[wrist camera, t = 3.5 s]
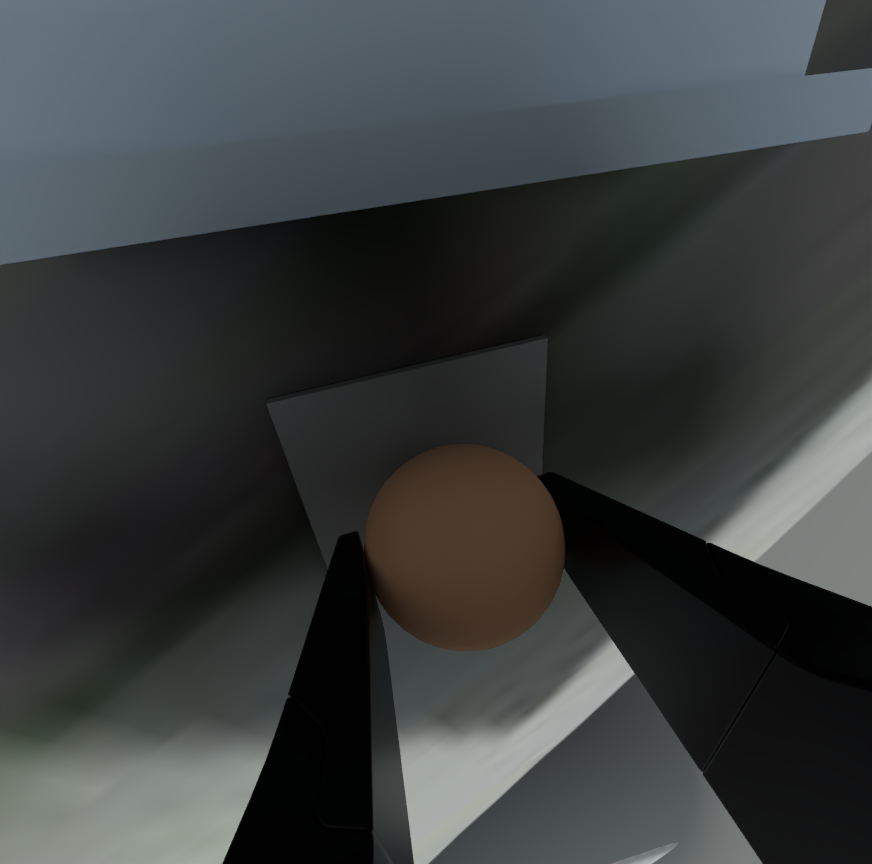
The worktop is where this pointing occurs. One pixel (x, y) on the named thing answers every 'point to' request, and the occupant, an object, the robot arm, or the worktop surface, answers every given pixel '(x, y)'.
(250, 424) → the worktop surface
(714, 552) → the robot arm
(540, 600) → the rubber ball
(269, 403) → the tee mat
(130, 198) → the staircase
